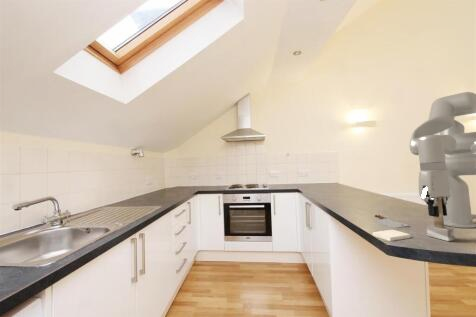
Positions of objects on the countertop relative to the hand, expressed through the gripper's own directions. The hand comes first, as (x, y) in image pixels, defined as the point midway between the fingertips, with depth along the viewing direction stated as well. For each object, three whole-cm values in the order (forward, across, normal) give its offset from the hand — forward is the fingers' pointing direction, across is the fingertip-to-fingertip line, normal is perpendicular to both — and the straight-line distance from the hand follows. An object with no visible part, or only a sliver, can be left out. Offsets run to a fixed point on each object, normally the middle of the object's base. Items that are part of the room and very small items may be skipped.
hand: (437, 215), depth 84 cm
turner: (+8, 0, 0) cm, 8 cm away
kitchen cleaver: (+9, -5, -28) cm, 30 cm away
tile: (+8, +8, -9) cm, 15 cm away
